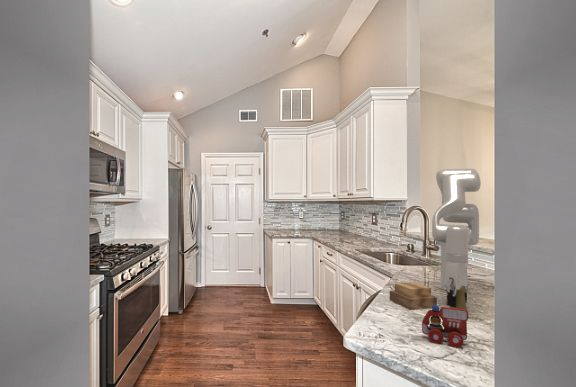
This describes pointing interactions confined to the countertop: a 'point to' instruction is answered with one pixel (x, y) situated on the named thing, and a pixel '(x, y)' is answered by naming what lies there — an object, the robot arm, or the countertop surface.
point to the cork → (460, 298)
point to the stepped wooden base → (413, 296)
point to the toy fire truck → (446, 325)
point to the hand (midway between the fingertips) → (457, 304)
